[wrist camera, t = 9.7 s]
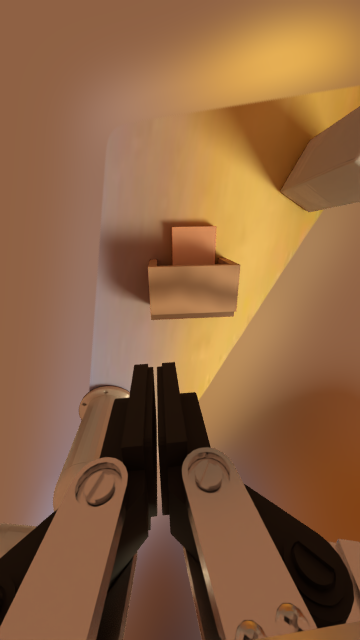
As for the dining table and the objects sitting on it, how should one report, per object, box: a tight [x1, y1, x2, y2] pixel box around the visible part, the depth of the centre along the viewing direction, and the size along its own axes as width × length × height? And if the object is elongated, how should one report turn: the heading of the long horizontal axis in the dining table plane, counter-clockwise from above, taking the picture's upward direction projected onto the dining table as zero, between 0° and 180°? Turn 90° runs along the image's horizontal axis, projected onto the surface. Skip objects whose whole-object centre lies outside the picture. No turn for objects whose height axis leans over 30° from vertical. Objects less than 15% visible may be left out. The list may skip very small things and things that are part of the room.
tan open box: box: [148, 258, 240, 320], centre depth 37 cm, size 8×13×8 cm, turn 91°
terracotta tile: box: [172, 226, 216, 266], centre depth 39 cm, size 12×7×2 cm, turn 1°
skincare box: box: [280, 107, 360, 212], centre depth 28 cm, size 8×7×16 cm
